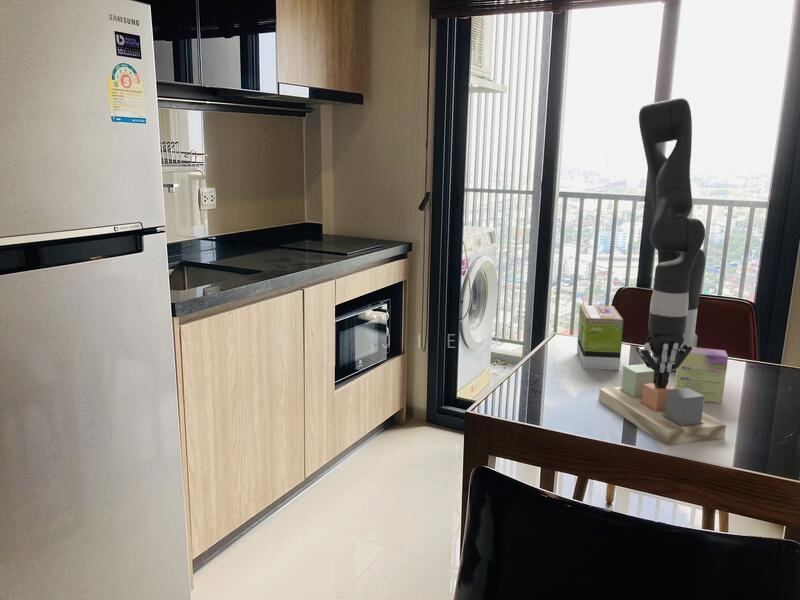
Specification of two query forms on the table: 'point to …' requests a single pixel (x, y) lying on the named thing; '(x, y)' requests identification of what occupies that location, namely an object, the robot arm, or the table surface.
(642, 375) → the button sage
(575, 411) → the table surface
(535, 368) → the table surface
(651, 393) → the button terracotta
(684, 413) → the grey block
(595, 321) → the tea box
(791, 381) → the table surface
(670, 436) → the light wooden board
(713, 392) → the box
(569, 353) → the table surface
